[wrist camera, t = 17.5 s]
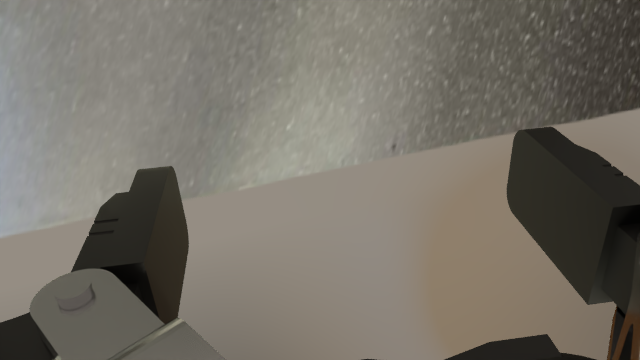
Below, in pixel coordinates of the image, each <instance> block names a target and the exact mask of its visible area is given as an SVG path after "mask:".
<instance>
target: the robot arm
mask: <svg viewBox="0 0 640 360" xmlns="http://www.w3.org/2000/svg"><path fill="white" fill-rule="evenodd" d="M507 200H508V204H509V207H510V209H511V211H512V213H513V214H514V215H515V217H516V218H517V219H518V220H519V222H520V223H521V224H522V225H523V226H524V227H525V229H526V230H527V231H528V233H529V234H530V235H531V236H532V237H533V239H534V240H535V241H536V242H537V243H538V245H539V246H540V247H541V248H542V250H543V251H544V252H545V253H546V255H547V256H548V257H549V258H550V259H551V260H552V262H553V263H554V264H555V265H556V267H557V268H558V269H559V270H560V271H561V273H562V274H563V275H564V276H565V278H566V279H567V280H568V281H569V283H570V284H571V285H572V286H573V287H574V289H575V290H576V291H577V292H578V293H579V295H580V296H581V297H582V298H583V300H584V301H585V302H586V303H587V304H588V305H590V304H597V303H605V302H612V301H614V303H615V304H616V309H615V312H614V315H613V319H612V325H611V333H610V340H609V347H608V354H607V360H640V186H639V185H638V184H637V183H636V182H634V181H633V180H632V179H630V178H629V177H627V176H623V173H622V172H621V171H619V170H618V169H617V168H616V167H614V166H613V167H611V164H610V163H609V162H608V161H606V160H605V159H604V158H602V157H601V156H600V155H598V154H597V153H595V152H592V151H590V150H588V149H585V148H583V147H581V146H578V145H576V144H574V143H573V142H571V141H570V140H569V139H568V138H566V137H565V136H564V135H562V134H561V133H560V132H559V131H557V130H556V129H555V128H553V127H544V128H535V129H525V130H519V131H518V132H517V133H516V135H515V137H514V141H513V147H512V154H511V162H510V170H509V177H508V184H507ZM188 244H189V241H188V230H187V224H186V219H185V214H184V210H183V205H182V200H181V196H180V191H179V187H178V182H177V178H176V174H175V171H174V168H173V167H172V166H168V167H158V168H149V169H139V170H138V171H137V173H136V175H135V178H134V180H133V183H132V185H131V188H130V191H129V192H125V193H116V194H115V195H114V196H113V197H111V198H110V199H109V200H108V201H107V202H106V203H105V204H104V205H102V206H101V208H100V210H99V212H98V214H97V216H96V218H95V221H94V224H93V225H92V227H91V230H90V232H89V236H87V238H86V240H85V243H84V245H83V247H82V249H81V251H80V254H79V256H78V258H77V260H76V262H75V264H74V266H73V269H72V271H71V273H68V274H65V275H63V276H60V277H58V278H57V279H55V280H53V281H51V282H50V283H48V284H47V285H46V286H44V287H43V288H42V289H41V290H40V291H39V292H38V293H37V294H36V296H35V297H34V298H33V300H32V302H31V305H30V312H29V313H27V314H24V315H22V316H19V317H16V318H13V319H10V320H7V321H4V322H1V323H0V360H226V359H225V358H224V357H223V356H222V355H221V354H219V353H218V352H217V351H216V350H215V349H214V348H213V347H212V346H211V345H210V344H209V343H208V342H207V341H205V340H204V339H203V338H202V337H201V336H200V335H199V334H198V333H197V332H196V331H195V330H194V329H192V328H191V327H190V326H189V325H188V324H187V323H186V322H185V321H183V320H182V319H180V318H178V312H179V305H180V298H181V293H182V286H183V280H184V274H185V268H186V261H187V255H188V247H189V245H188ZM364 360H374V359H364ZM445 360H596V359H591V358H587V357H584V356H579V355H573V354H567V353H560V352H559V351H558V349H557V348H556V346H555V345H554V343H553V342H552V340H551V339H550V337H549V336H548V335H547V334H545V335H537V336H530V337H523V338H515V339H508V340H501V341H494V342H489V343H486V344H483V345H481V346H478V347H476V348H473V349H471V350H468V351H465V352H463V353H460V354H458V355H455V356H453V357H450V358H448V359H445Z"/></svg>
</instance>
